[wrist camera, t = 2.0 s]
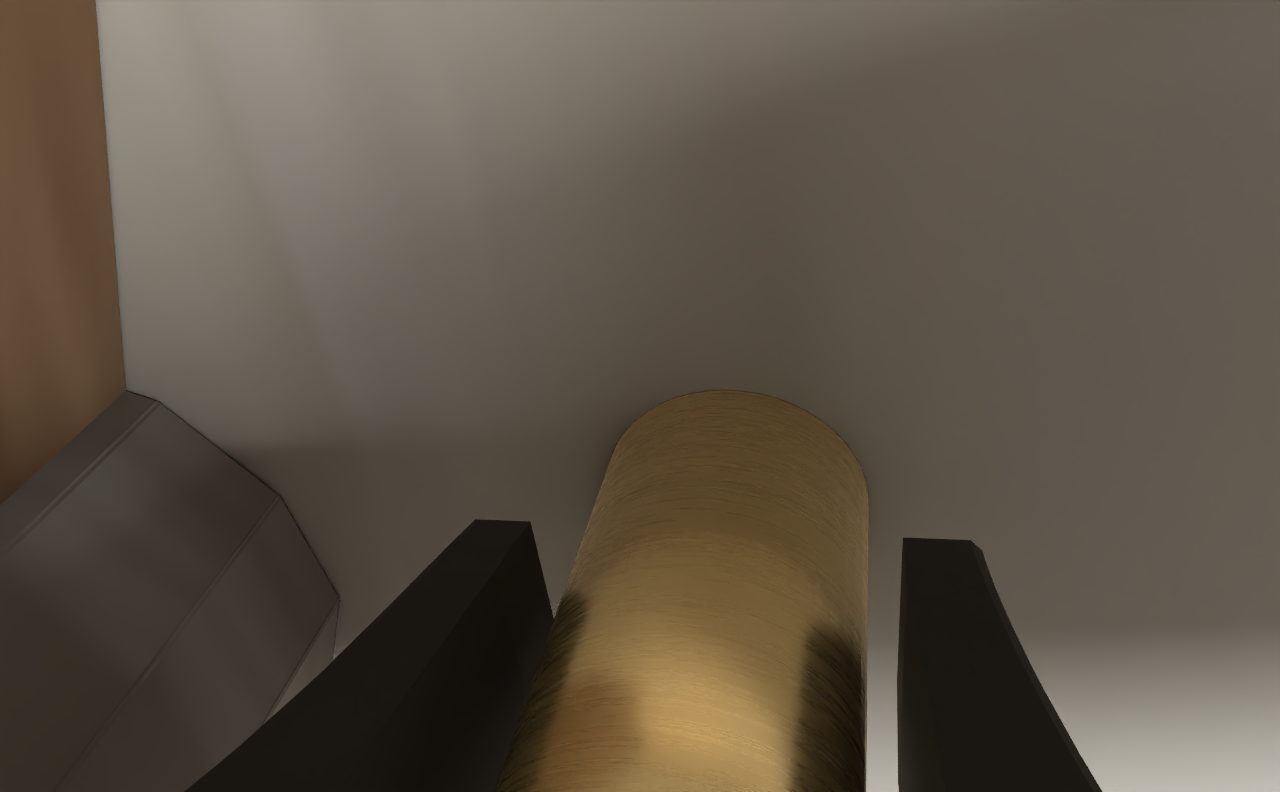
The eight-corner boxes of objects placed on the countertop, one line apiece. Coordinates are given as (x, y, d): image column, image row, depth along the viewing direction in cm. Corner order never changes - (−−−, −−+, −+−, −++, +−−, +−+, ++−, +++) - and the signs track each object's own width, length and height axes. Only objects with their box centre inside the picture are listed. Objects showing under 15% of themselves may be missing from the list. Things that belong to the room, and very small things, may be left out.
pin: (913, 444, 10) (958, 1315, 5) (811, 621, 12) (756, 1404, 7) (644, 353, 10) (373, 1116, 5) (582, 543, 12) (332, 1261, 7)
